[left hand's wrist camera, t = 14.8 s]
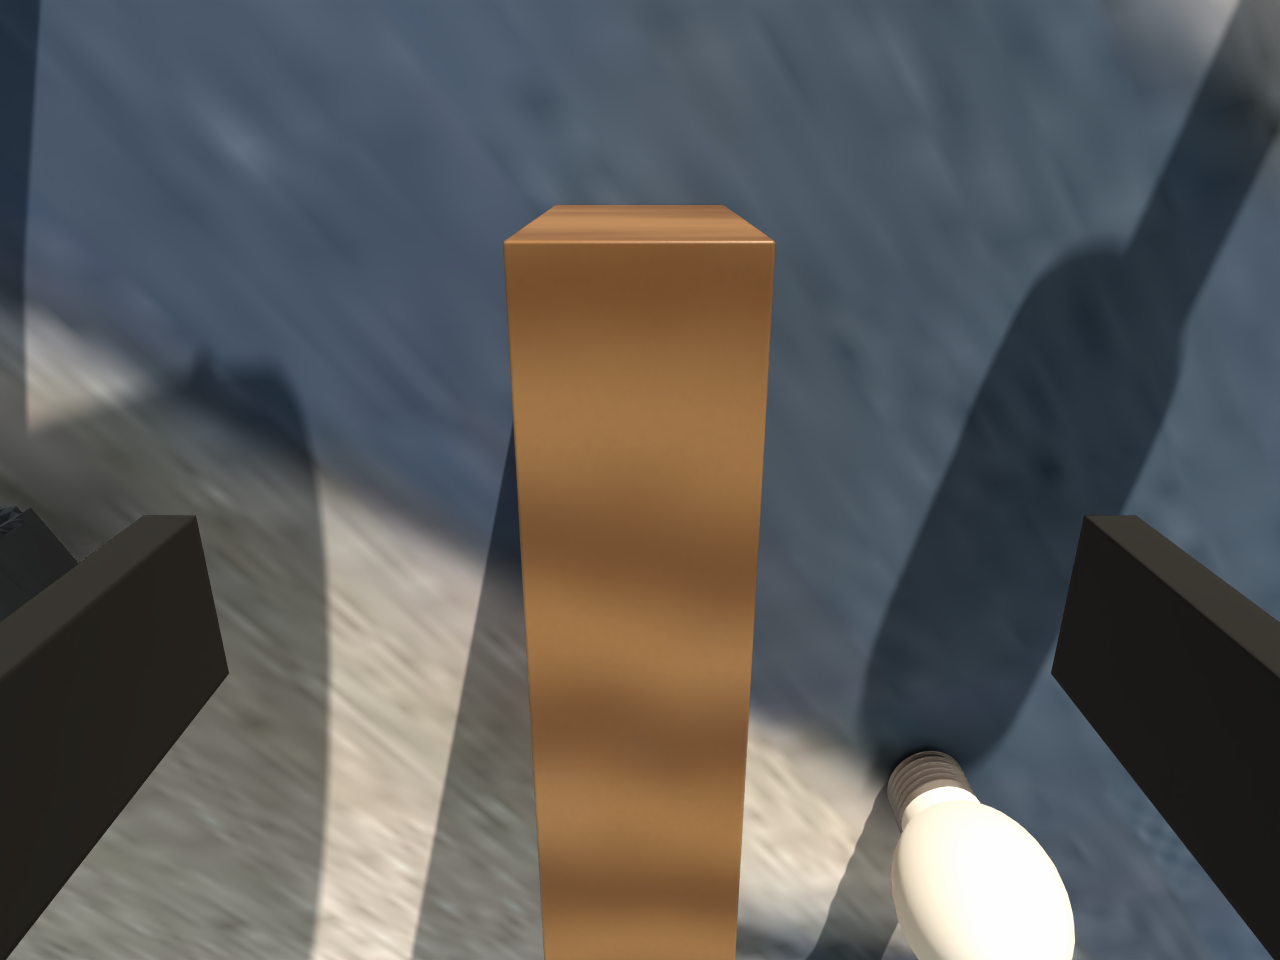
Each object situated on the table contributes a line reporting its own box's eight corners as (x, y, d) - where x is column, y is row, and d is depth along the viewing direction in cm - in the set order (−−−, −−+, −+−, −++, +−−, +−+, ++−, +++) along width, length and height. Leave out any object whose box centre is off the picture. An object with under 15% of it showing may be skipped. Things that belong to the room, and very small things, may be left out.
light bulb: (866, 727, 40) (944, 927, 30) (1008, 729, 40) (1135, 930, 30) (849, 838, 42) (916, 1058, 32) (984, 840, 42) (1093, 1061, 32)
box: (553, 205, 32) (502, 240, 20) (725, 205, 32) (776, 240, 20) (574, 802, 42) (549, 1060, 30) (704, 802, 42) (729, 1060, 30)
